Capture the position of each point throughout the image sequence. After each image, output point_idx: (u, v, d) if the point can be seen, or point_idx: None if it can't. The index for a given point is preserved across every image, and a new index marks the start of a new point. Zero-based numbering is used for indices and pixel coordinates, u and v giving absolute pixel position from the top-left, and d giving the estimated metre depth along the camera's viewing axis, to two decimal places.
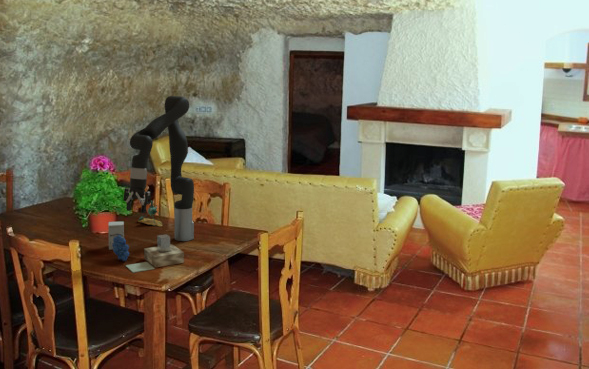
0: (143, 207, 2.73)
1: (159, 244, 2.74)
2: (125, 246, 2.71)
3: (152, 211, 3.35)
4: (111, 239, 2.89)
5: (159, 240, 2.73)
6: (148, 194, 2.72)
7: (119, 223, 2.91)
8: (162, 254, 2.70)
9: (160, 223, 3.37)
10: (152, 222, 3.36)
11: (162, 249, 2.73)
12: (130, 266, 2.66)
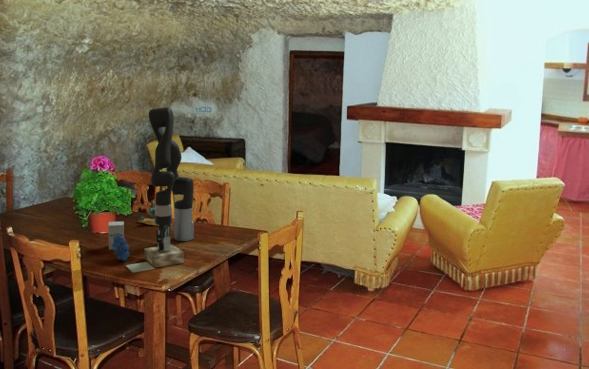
0: None
1: None
2: (125, 246, 2.71)
3: (152, 211, 3.35)
4: (111, 239, 2.89)
5: None
6: None
7: (119, 223, 2.91)
8: (162, 254, 2.70)
9: None
10: (152, 222, 3.35)
11: None
12: (130, 266, 2.66)
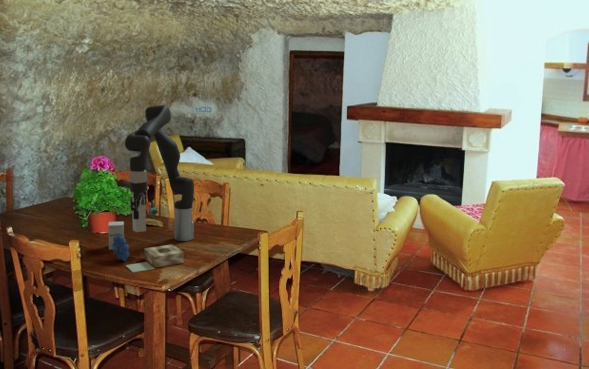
0: None
1: None
2: (125, 246, 2.71)
3: (153, 211, 3.34)
4: (111, 239, 2.89)
5: None
6: None
7: (119, 223, 2.91)
8: (162, 254, 2.70)
9: (161, 223, 3.37)
10: (153, 222, 3.35)
11: None
12: (130, 266, 2.66)
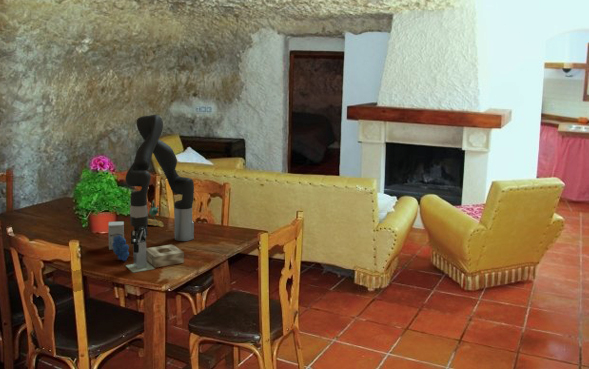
0: None
1: None
2: (125, 246, 2.71)
3: (153, 211, 3.34)
4: (111, 239, 2.89)
5: None
6: None
7: (119, 223, 2.91)
8: (162, 254, 2.70)
9: (161, 223, 3.37)
10: (153, 222, 3.35)
11: (138, 255, 2.62)
12: (130, 266, 2.66)
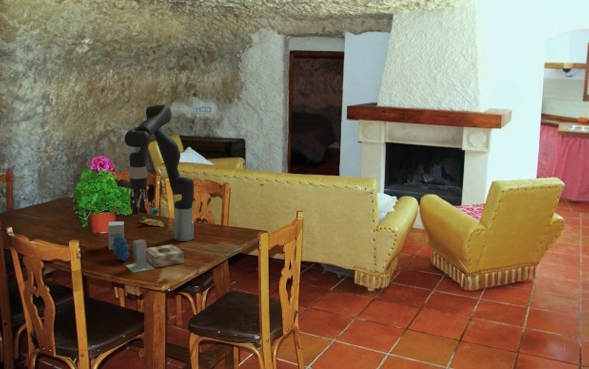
0: None
1: (134, 249, 2.63)
2: (125, 246, 2.71)
3: (154, 211, 3.34)
4: (111, 239, 2.89)
5: (135, 245, 2.63)
6: None
7: (119, 223, 2.91)
8: (162, 254, 2.70)
9: (162, 223, 3.37)
10: (154, 222, 3.35)
11: (138, 255, 2.62)
12: (130, 266, 2.66)
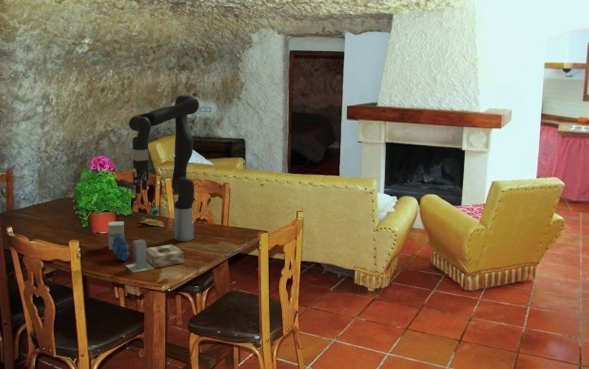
0: None
1: (134, 249, 2.63)
2: (125, 246, 2.71)
3: (154, 211, 3.34)
4: (112, 239, 2.89)
5: (135, 245, 2.63)
6: None
7: (119, 223, 2.91)
8: (162, 254, 2.70)
9: None
10: (154, 223, 3.35)
11: (138, 255, 2.62)
12: (130, 266, 2.66)
